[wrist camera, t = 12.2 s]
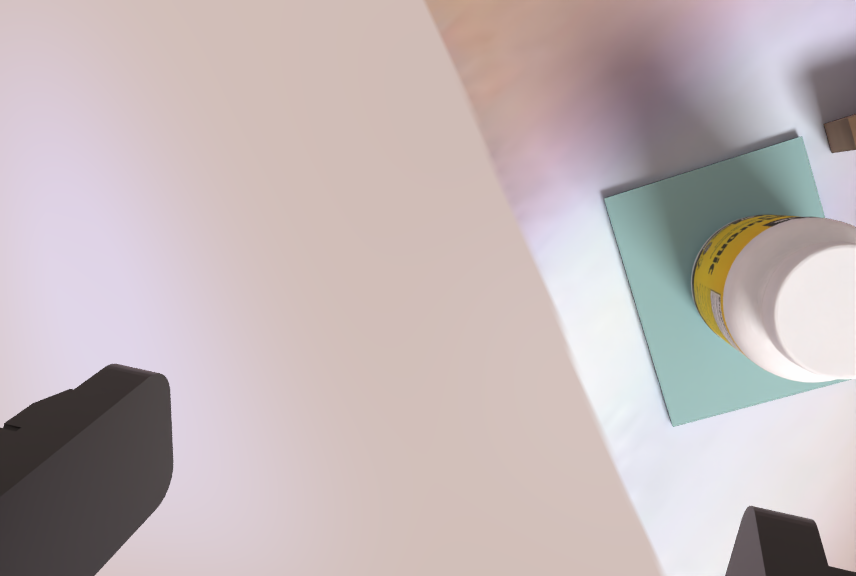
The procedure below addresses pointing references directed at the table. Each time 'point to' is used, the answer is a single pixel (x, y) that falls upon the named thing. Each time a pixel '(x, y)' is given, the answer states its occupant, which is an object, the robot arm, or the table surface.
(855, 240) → the supplement bottle
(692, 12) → the table surface
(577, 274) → the table surface
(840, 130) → the chute
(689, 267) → the pad
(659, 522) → the table surface
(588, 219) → the table surface
